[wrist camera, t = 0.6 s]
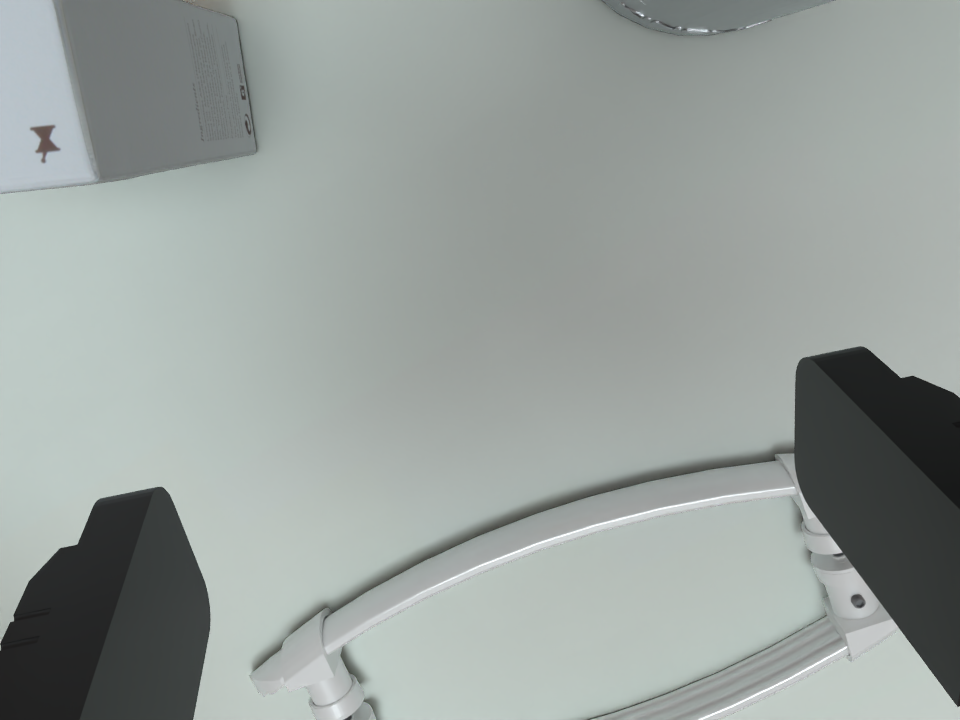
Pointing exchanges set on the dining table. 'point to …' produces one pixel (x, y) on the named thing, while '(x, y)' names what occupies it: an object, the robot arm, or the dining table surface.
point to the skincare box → (117, 91)
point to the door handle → (674, 716)
